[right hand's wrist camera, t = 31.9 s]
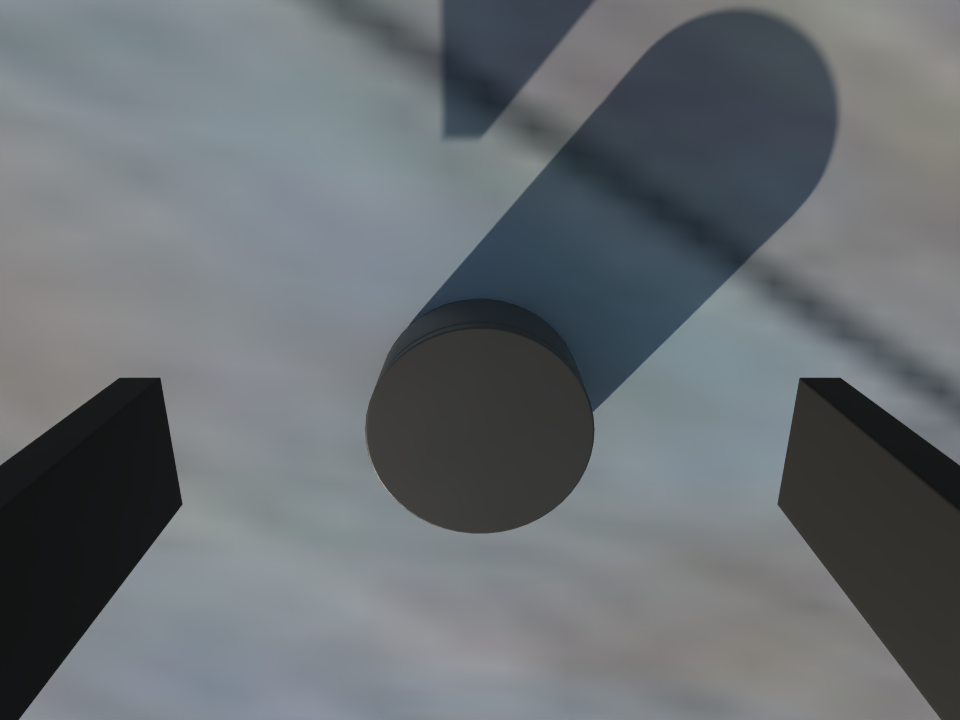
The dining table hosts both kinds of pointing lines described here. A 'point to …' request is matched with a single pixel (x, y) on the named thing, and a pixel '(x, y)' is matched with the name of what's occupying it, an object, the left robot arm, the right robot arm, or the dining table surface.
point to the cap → (479, 418)
